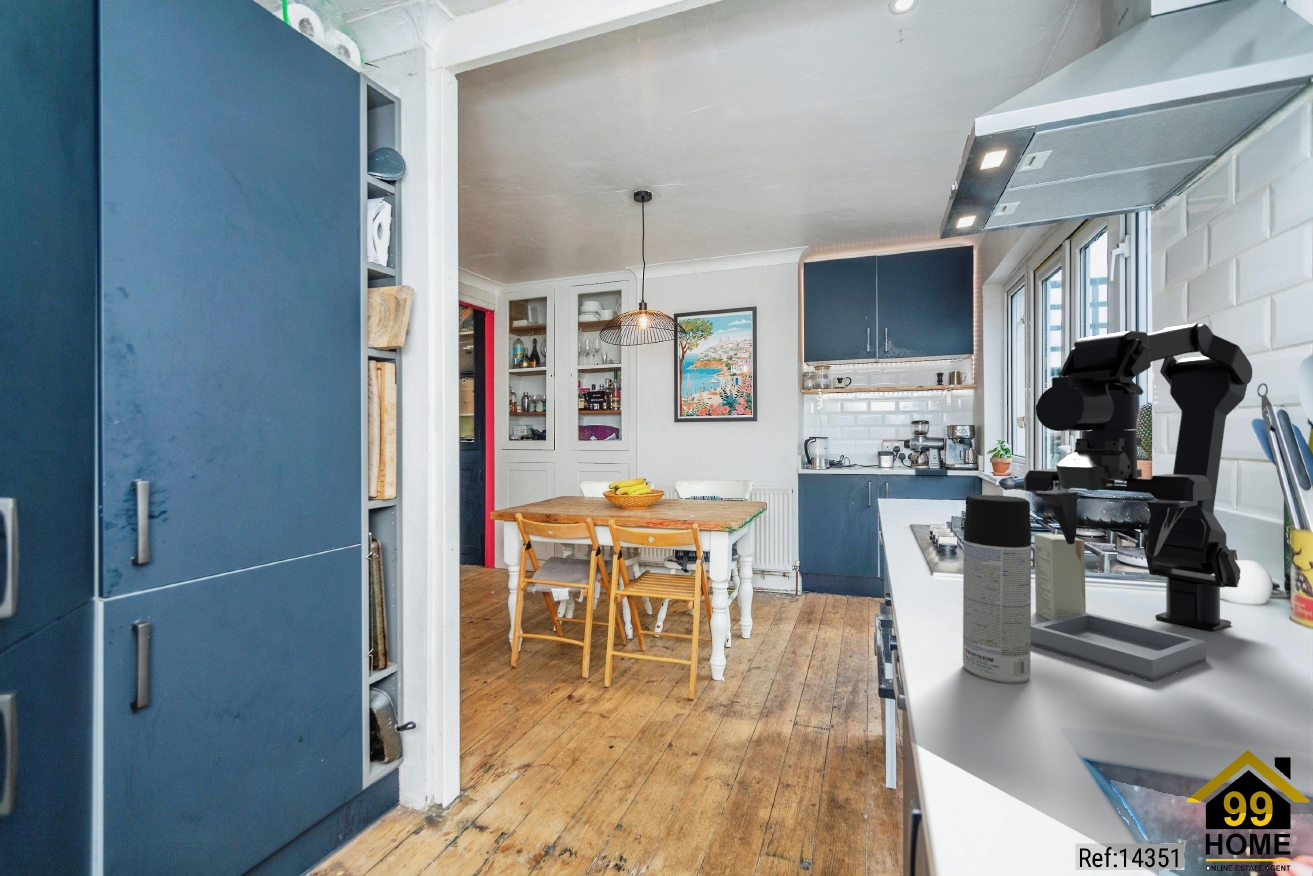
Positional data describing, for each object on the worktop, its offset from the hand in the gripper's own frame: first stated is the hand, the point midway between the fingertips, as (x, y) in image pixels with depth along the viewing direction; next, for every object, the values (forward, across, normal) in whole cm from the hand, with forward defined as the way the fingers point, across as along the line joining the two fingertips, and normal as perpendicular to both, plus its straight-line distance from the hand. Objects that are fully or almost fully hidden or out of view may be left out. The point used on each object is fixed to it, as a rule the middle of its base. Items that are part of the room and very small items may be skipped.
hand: (1109, 549), depth 75 cm
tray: (+12, +2, -4) cm, 13 cm away
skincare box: (+12, -9, +5) cm, 16 cm away
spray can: (+12, -1, -23) cm, 26 cm away
